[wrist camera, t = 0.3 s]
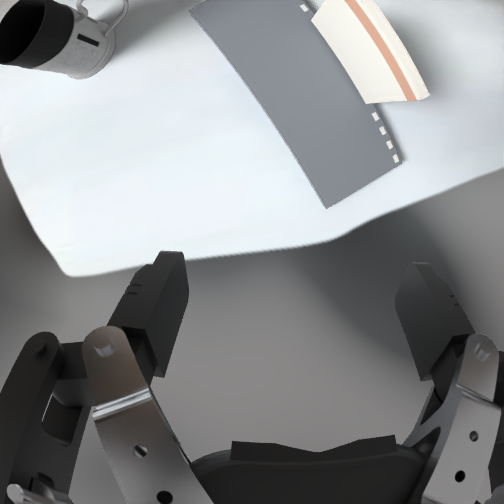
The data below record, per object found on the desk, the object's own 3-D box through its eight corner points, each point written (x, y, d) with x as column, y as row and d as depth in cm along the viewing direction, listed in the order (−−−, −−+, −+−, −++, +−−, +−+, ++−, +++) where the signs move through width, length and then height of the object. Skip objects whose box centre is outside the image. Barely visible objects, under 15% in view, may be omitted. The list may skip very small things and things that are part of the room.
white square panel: (310, 20, 24) (341, -22, 14) (319, 16, 24) (352, -26, 13) (365, 104, 29) (420, 100, 18) (373, 100, 29) (430, 95, 18)
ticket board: (190, 14, 25) (188, 10, 24) (273, -27, 23) (274, -32, 21) (323, 205, 36) (326, 209, 35) (396, 161, 34) (402, 163, 32)
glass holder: (60, 36, 24) (-9, 18, 11) (152, -2, 24) (107, -54, 10) (64, 88, 28) (-12, 86, 14) (158, 53, 27) (106, 16, 14)
